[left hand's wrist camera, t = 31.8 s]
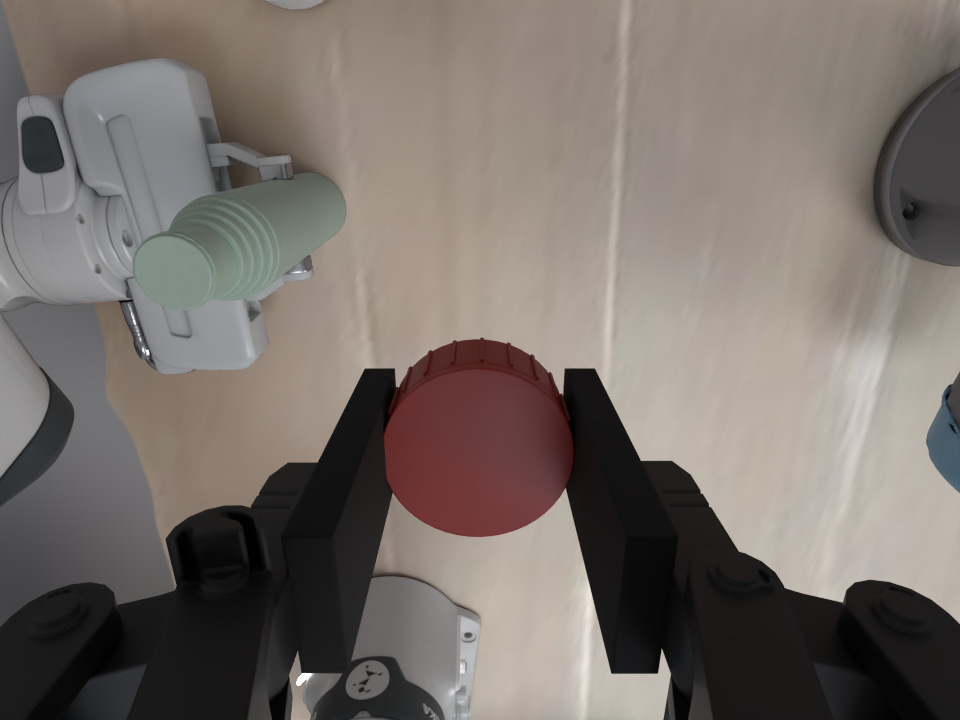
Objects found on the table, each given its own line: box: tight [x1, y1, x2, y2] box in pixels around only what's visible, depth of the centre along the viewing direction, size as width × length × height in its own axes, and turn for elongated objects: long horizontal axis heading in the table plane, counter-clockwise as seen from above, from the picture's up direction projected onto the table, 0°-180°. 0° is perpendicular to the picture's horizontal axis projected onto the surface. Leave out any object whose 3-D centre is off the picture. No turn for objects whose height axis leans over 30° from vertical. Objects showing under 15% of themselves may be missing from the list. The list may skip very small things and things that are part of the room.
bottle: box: [132, 172, 346, 310], centre depth 34 cm, size 5×5×23 cm
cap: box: [384, 338, 574, 537], centre depth 14 cm, size 4×4×2 cm
